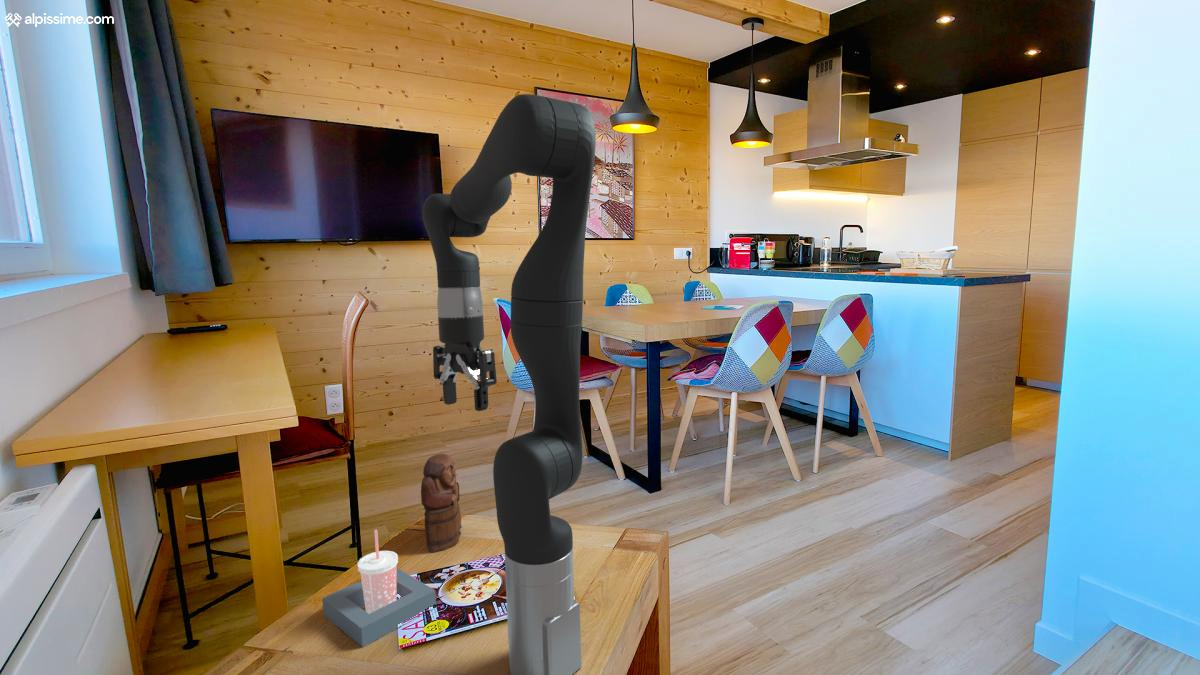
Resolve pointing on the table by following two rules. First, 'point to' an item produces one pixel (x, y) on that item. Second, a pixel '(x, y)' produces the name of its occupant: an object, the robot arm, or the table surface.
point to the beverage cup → (378, 577)
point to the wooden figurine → (441, 503)
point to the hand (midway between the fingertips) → (465, 406)
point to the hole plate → (377, 624)
